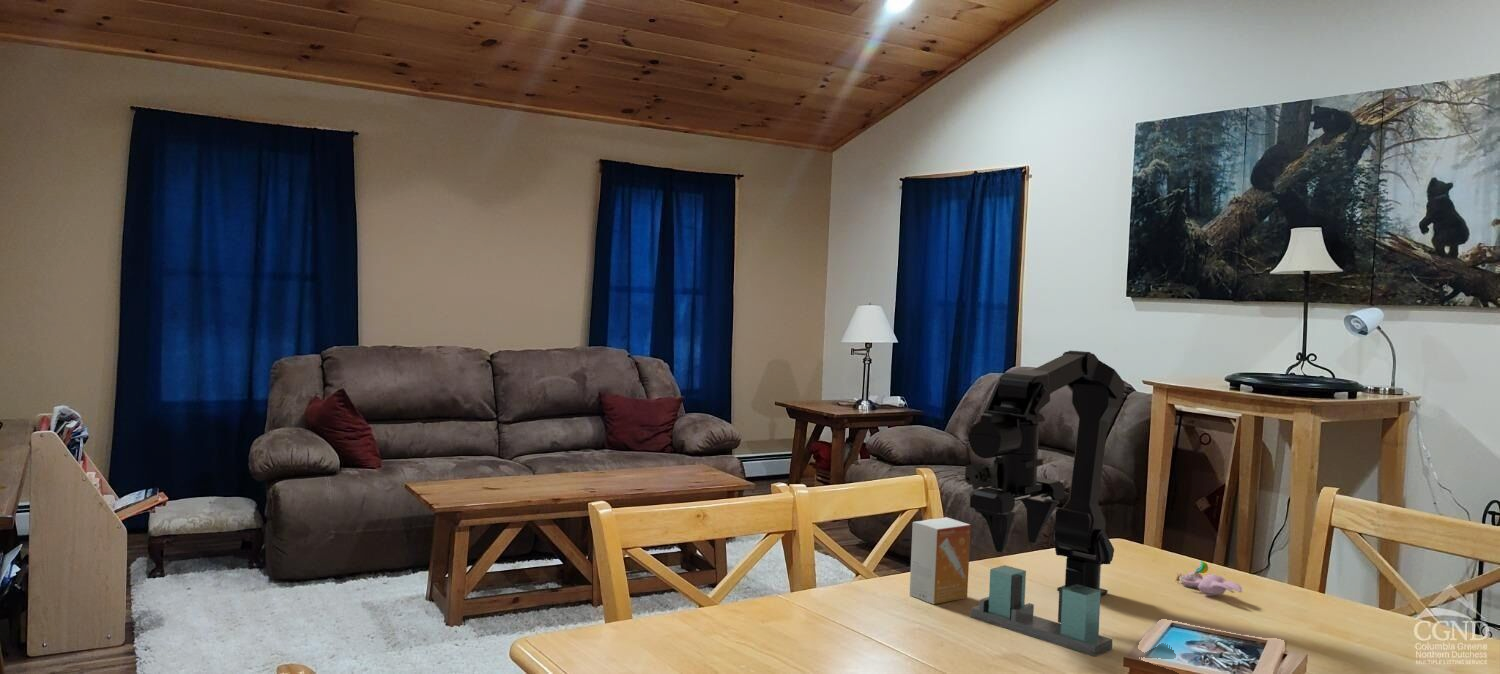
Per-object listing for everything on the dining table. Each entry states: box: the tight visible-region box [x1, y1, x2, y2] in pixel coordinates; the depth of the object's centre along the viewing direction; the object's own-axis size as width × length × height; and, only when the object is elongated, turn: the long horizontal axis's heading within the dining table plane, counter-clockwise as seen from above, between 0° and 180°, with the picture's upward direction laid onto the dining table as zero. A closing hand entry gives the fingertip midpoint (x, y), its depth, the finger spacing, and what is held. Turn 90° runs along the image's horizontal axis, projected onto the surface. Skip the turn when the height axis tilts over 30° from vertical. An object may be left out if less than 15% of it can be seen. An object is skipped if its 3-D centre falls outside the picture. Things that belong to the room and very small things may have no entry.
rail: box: [970, 584, 1113, 657], centre depth 159 cm, size 5×22×8 cm, turn 42°
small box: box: [909, 516, 972, 605], centre depth 176 cm, size 8×6×13 cm
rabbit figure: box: [1175, 560, 1243, 597], centre depth 183 cm, size 6×6×15 cm
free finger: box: [988, 564, 1027, 619], centre depth 164 cm, size 4×5×7 cm
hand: (1016, 547), depth 165 cm, fingers open, 9 cm apart
